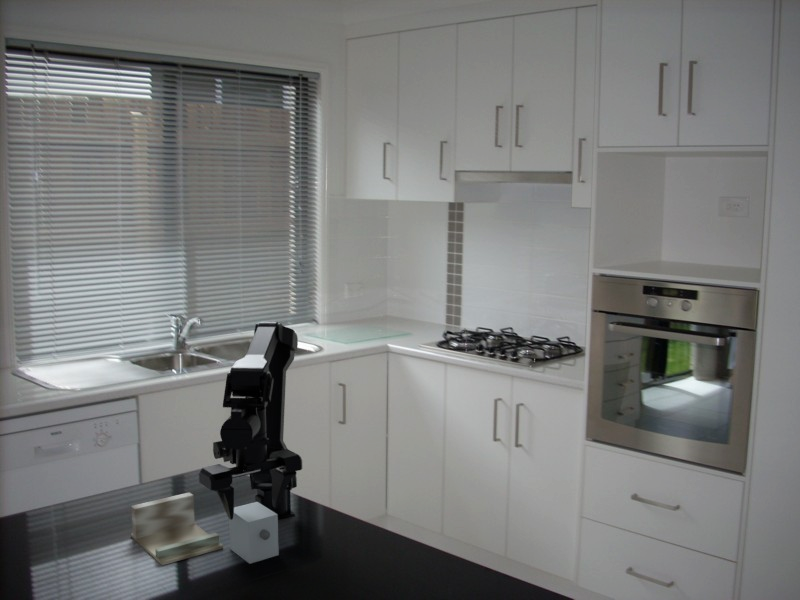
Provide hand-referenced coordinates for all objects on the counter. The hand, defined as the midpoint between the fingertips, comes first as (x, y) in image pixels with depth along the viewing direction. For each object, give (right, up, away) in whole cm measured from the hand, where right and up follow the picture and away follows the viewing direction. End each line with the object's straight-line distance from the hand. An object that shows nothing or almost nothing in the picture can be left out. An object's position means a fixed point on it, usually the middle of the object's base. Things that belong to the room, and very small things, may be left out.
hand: (253, 512), depth 160 cm
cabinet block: (0, -8, +1) cm, 8 cm away
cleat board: (-16, -7, +5) cm, 18 cm away
